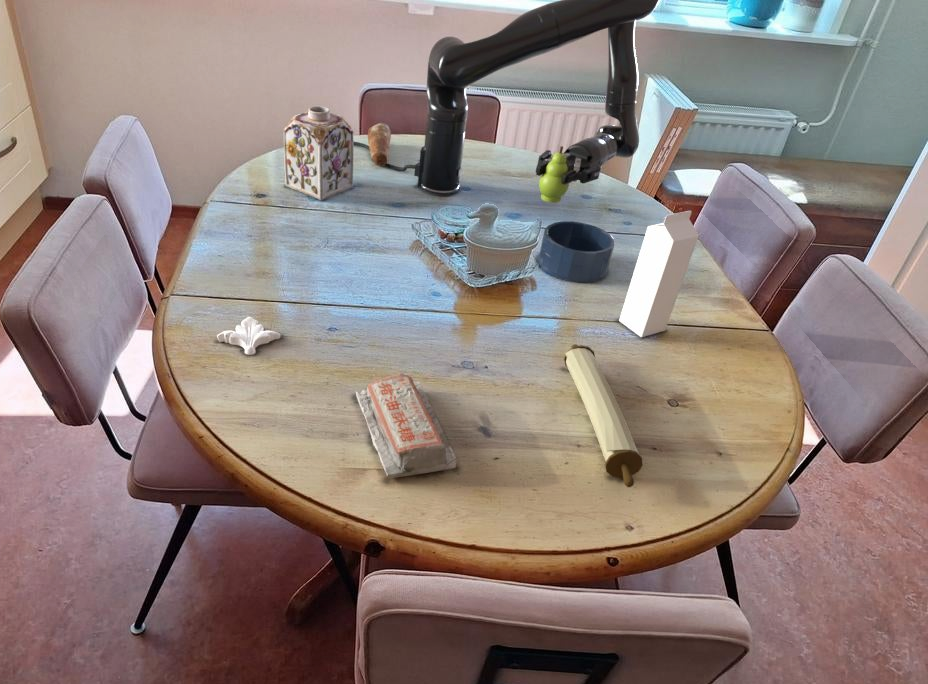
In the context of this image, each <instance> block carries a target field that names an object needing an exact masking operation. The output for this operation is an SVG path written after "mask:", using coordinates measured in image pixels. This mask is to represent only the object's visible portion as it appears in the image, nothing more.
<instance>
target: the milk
mask: <svg viewBox="0 0 928 684" xmlns="http://www.w3.org/2000/svg"><path fill="white" fill-rule="evenodd" d="M691 215H692V210H686V211H682V212H676V213H671V214H667V215H665V217H664V221H663V222H662V223H657V224H652V225H648V226H647V228H646V230H645V235H644V238H643V241H642V244H641V246H640V247H641V248H640V250H639V254H638V257H637V261H636V264H635V266H634V270H633V274H632V277H631V280H630V284H629V287H628V290H627V293H626V297H625V300H624V303H623V306H622V310H621V312H620V316H619V320H618V321H619V322H620V323H621V324H623V325H624V326H625V327H627V328H628V330H630V331H632V332H633V333H635V334H636V335H637V336H639V337H640V338H645V337H648V336H652V335H654V334H658V333H662V332H666V330H667V326H668V324H669V320H670V318H671V315H672V313H673V310H674V307H675V304H676V302H677V299H678V296H679V293H680V290H681V288H682V285H683V281H684V279H685V276H686V274H687V271H688V267H689V266H690V262H691V259H692V256H693V253H694V251H695V248H696V246H697V243H698V240H699V237H700V234H699V233H698V232H697V230H696V228H695V227H694V225H693V223H692V221H691V220H690V218H691Z"/></svg>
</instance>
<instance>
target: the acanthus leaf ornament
mask: <svg viewBox="0 0 928 684" xmlns="http://www.w3.org/2000/svg"><path fill="white" fill-rule="evenodd" d="M258 323H259V321H258V320H256V319H254V317H252V316H247V317H246V318H244V319H243V320H242V321H241V323H240V324H237V325H236V326H235V330H224V331H222V332H220V333H218V334H217V336H216V338H217V340H218V342H219V343H223V342H224V343H226V344H229V345H233V346H239V347H241V348H243V349H244V354H246V355H248V356H253V355H255V354H256V352H257V351H256V348H257V347H258V346H260V345H265V344H269V343H270V342H272V341H274V340H279V339H281V333H279V332H277V331H273V330H268V329H267V330H264V326H263V324H260V323H259V324H258Z"/></svg>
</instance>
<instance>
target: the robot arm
mask: <svg viewBox="0 0 928 684" xmlns="http://www.w3.org/2000/svg"><path fill="white" fill-rule="evenodd" d="M660 1H661V0H557V1H553V2H549V3H546V4H543V5H541V6H538V7H536V8H533V9H530V10H528V11H526V12H524V13H522V14H520V15H519V16H517V17H516V18H515V19H513V20H512V21H511V22H510V23H508V24H507V25H506V26H504V27H503V28H502V29H500V30H499V31H498V32H496V33H494V34H492V35H489V36H487V37H484V38H480V39H477V40H474V41H470V42H469V41H468V42H464V41H463V40H461V39H460V38H458V37H455V36H445V37H441V38H440V39H438V40H437V41H436V42H435V43H434V45H433V46H432V48H431V51H430V53H429V56H428V61H427V62H428V63H427V73H426V74H427V75H426V91H425V93H426V106H427V110H426V124H425V135H424V145H423V146H422V147H420V153H419V162H417V163H415V164H405V165H404V166H397V165H394V164H391V163H388V162H387V163H386V165H384V166H383V167H385V168H387V169H391V170H395V171H399V172H405V171H407V170H409V169H411V170H414V172H413V173H414V174H413V176H414V177H416V178H417V187H418V188H421V189H422V190H423V191H424V192H426V193H429V194H432V195H440V196H449V195H454V194H457V192H459V189H460V178H461V174H462V172H463V167H462V162H463V154H464V146H465V137H466V129H467V120H468V113H469V105H468V100H467V93H466V91H467V90H466V89H467V87H468V86H470V85H472V84H474V83H476V82H478V81H481V80H482V79H484V78H486V77H488V76H490V75H492V74H494V73H496V72H498V71H500V70H503V69H505V68H508V67H512V66H514V65H517V64H520V63H523V62H525V61H528V60H530V59H533V58H536V57H539V56H543V55H546V54H547V53H550V52H554V51H555V50H558V49H561V48H562V47H565V46H567V45H569V44H572V43H575V42H577V41H579V40H582V39H585V38H586V37H588V36H591V35H593V34H595V33H597V32H601V31H603V30H606V29H607V42H608V45H607V47H608V48H607V49H608V51H607V52H608V53H607V54H608V56H607V57H608V62H607V78H606V79H607V81H606V92H605V99H604V100H605V102H604V113H605V114H606V115H607V116H609V117H611V118H613V119H615V120H617V121H618V122H619V124H620V125H613V124H605V125H601V126H600V127H598V128H597V131H596V132H595V133H594V135H593V136H591V137H587V138H584V139H582V140H580V141H578V142H576V143H573V144H572V145H569V146H568V147H567V148H566V150H564V152H562V153H563V154H564V155H565V156H566V162H565V163H566V164H567V167H568V172H566V173H565V174H564V175H563V177H562V182H561V183H562V184H564V185H565V184H567V183H569V184H571V183H572V182H575V183H576V182H577V181H579V183H580V184H587V183H590V182H593V181H596V180H598V179H599V178H600V174H601V169H602V167H604V165H606V164H608V163H609V162H611V161H612V160H613V159H614V158H615V157H617V158H622V159H628V158H631V157H633V156H634V155H635V154H636V152H637V151H638V148H639V146H640V133H639V126H638V119H637V112H636V110H637V109H636V106H637V105H636V103H637V95H638V86H639V68H638V63H637V57H636V56H637V55H636V49H635V48H636V47H635V31H636V29H635V28H636V23H637V21H639V20H643V19H645V18H646V17H647V16H649V15H650V14H651V13H653V12H654V10H655V9H656V8H657V6H658V5H659V3H660ZM353 142H354V146H357V147H360V148H364V149H366V150H367V151H369V154H370V155H371V153H370V148H369V144H366V143H363V142H358V141H353ZM553 155H554V154H553V153H552V151H551V150H550V149H547V150H545V151H543V153H541V154H540V155H538V160H537V165H536V168H535V175H536V176H539V177H541V176H542V175H543V174H544V173H545V172H546V167H547V165H548V164H549V162H550V161H552V157H553Z"/></svg>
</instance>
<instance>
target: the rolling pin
mask: <svg viewBox="0 0 928 684" xmlns="http://www.w3.org/2000/svg"><path fill="white" fill-rule="evenodd" d="M564 354H565V355H564V357H563V361H564V366H565V367H567V370H568V371H569V374H570V376H571V378H572V380H573V382H574V384H575V386H576V388H577V391H578V394H579V397H580V398H581V401H582V403H583V406H584V408H585V410H586V412H587V415H588V417H589V420H590V422H591V425H592V428H593V430H594V433H595V436H596V438H597V441H598V445H599V447H600V450H601V452H602V455H603V458H604V461H605V462H604V463H605V464H604V465H605V471H606V473H607V474H608V475H610V476H611V477H613V478H617V479H623V484H624V486H625V487H627V488H632V487H633V486H634V484H635V481H634V477H633V476H634V475H636V474H637V473H639V471H640V470H641V469H642V467H643V466H644V464H643V457H642V455H641V454H640V453H639V451H638V449H637V446H636V444H635V441H634V439H633V436H632V433H631V431H630V429H629V426H628V424H627V422H626V419H625V417H624V414H623V412H622V409H621V408H620V406H619V404H618V401H617V399H616V397H615V395H614V392H613V391H612V389H611V386H610V385H609V383H608V381H607V378H606V376H605V374H604V372H603V370H602V368H601V367H600V365H599V363H598V361H597V360H596V359H597V358H596V354H595V351H594V350H593V349H592V348H591V347H589V346H588V345H582V344H581V345H578V344H572V345H571V348H569V350H567V351H566V352H564Z"/></svg>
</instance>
